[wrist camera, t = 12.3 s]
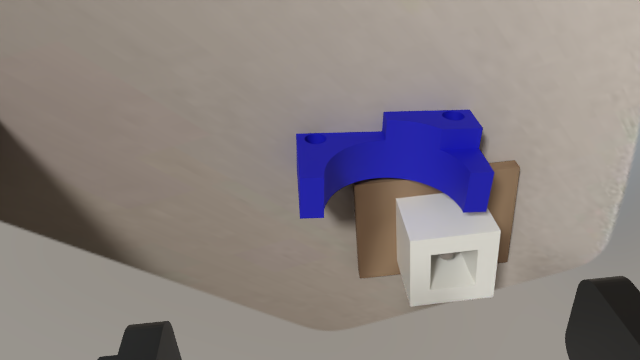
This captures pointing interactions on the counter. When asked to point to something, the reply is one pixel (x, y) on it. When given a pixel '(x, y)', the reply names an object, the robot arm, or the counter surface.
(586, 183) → the counter surface
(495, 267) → the white hollow square block
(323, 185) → the blue curved saddle bracket
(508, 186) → the pin base
